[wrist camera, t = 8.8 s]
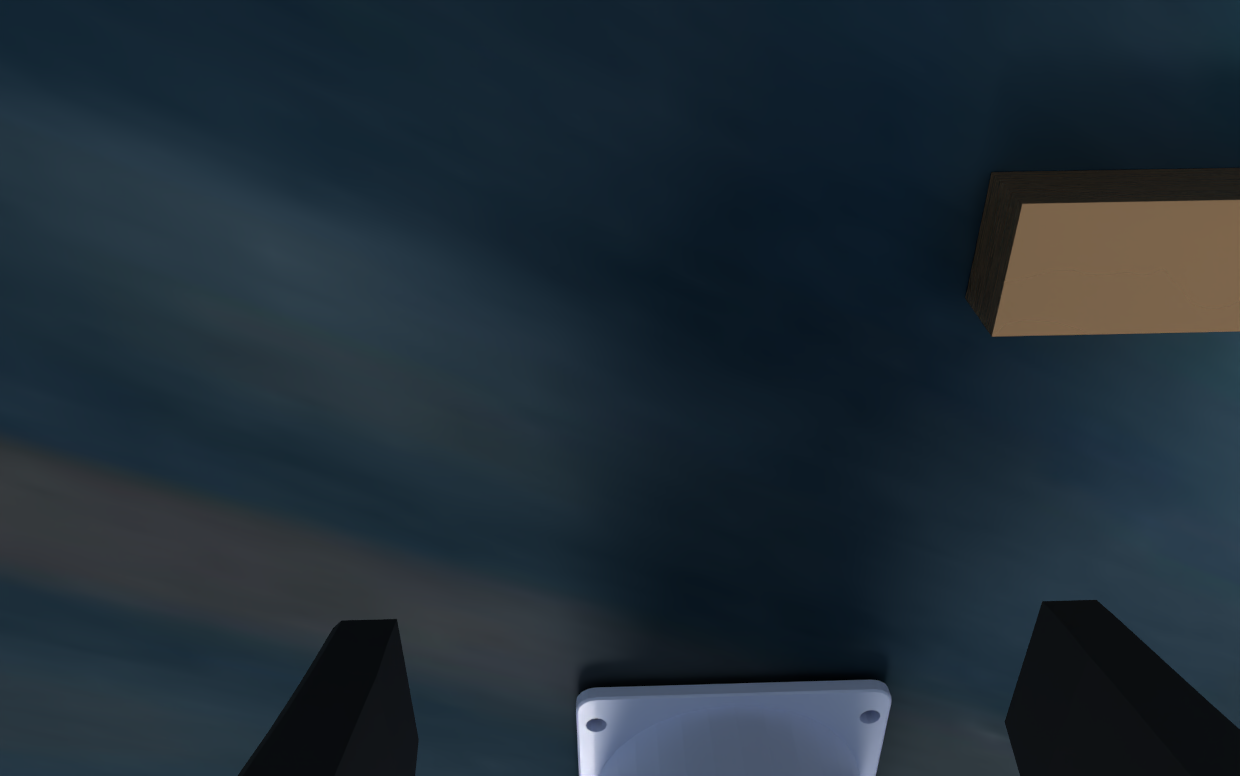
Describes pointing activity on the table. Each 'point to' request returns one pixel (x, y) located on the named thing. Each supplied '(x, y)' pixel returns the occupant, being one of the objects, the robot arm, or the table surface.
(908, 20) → the table surface
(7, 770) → the table surface
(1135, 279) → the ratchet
